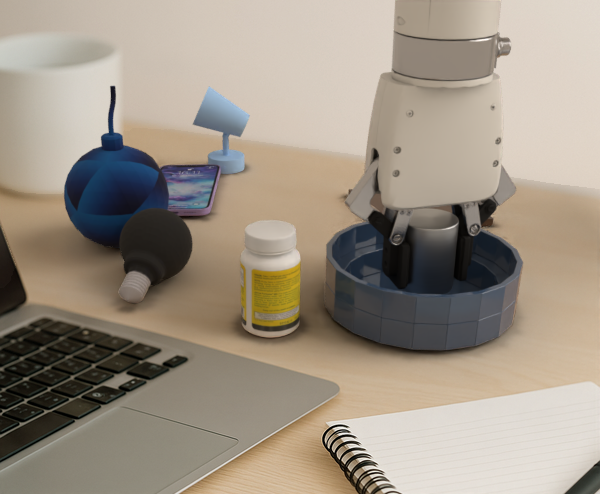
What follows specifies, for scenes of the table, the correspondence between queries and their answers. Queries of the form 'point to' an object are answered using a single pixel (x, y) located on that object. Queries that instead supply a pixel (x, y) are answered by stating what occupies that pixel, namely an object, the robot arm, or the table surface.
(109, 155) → the bomb
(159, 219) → the light bulb
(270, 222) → the supplement bottle
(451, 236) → the tin
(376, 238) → the bowl
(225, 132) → the spotlight
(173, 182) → the smartphone
